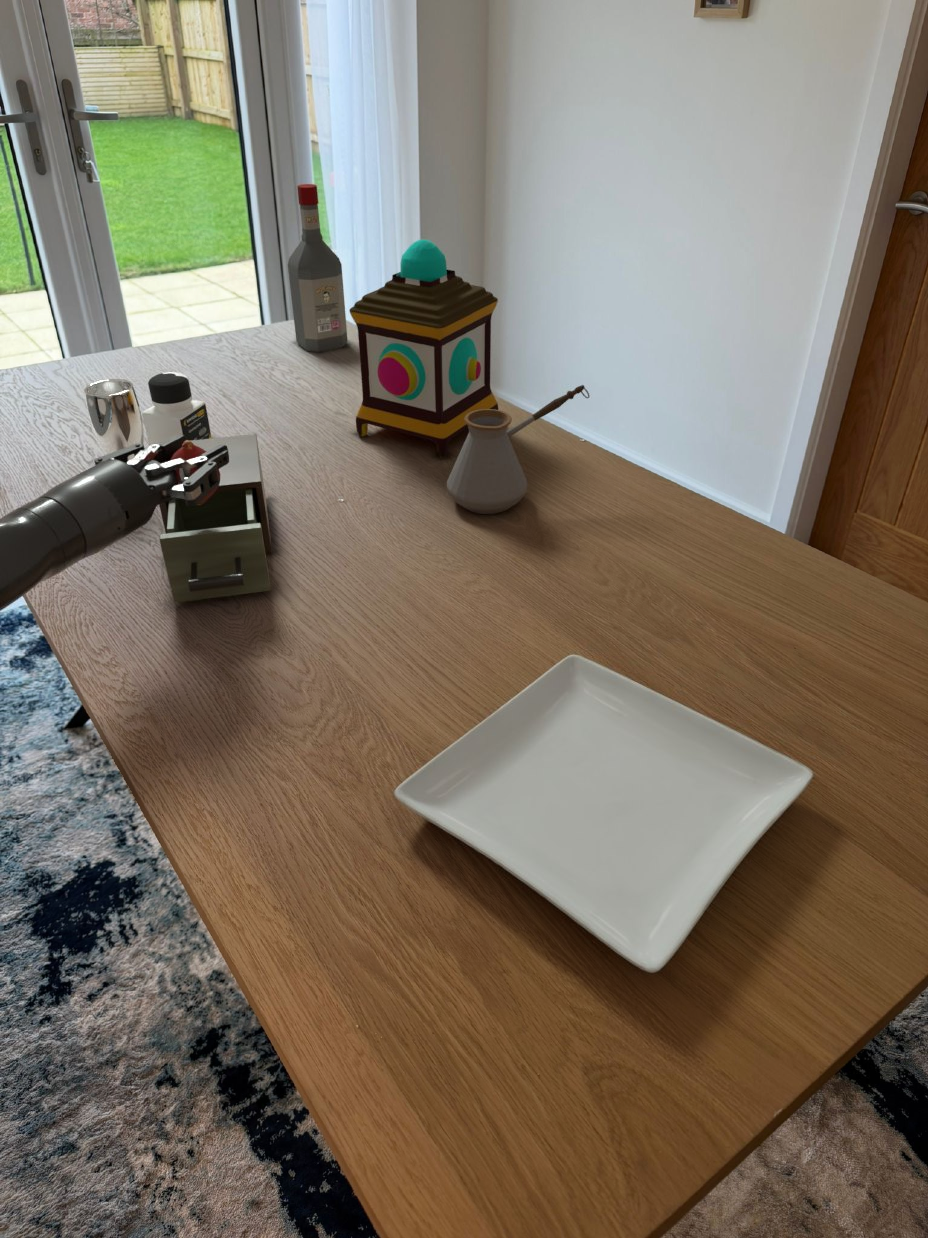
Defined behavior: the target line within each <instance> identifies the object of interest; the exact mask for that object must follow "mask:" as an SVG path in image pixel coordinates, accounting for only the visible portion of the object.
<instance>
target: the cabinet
mask: <svg viewBox="0 0 928 1238" xmlns="http://www.w3.org/2000/svg"><path fill="white" fill-rule="evenodd" d="M191 442H192V443H193V444H194V445H195V446H198V447H200V448H202V449H204V450H205V451H206V452H207V451H209V450H210V449H212V448H214V447H216V446H218V445H219V444H222V445H226V446H227V448H228V454H229V463H228V464H227V465H224V466H223V467H221V468H220V469H219V472H220V484H219V486H218V488H217V490H216V491H215V492H218V491H227V490H237V489H246V488H253V495H254V501H255V507H256V514H257V520H258V523H261V528H262V534H263V541H264V547H265V554H272V553H273V549H272V540H271V539H272V538H271V529H270V523H269V522H270V519H269V512H268V503H267V502H268V501H267V495H266V489H265V488H266V487H265V482H264V476H263V470H262V463H261V462H262V461H261V457H260V455H261V454H260V449H259V442H258V436H257V434H256V433H255V434H243V435H234V436H223V437H214V438H213V437H212V439H202V440H191ZM162 444H163V443H162ZM158 506H159V510H160V514H161V519H162V523H163V527H164V532H165V534H167V533H168V532H167V521H168V508H169V501H168V502H165V503H161V504H159V505H158Z"/></svg>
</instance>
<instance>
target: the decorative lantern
mask: <svg viewBox="0 0 928 1238" xmlns="http://www.w3.org/2000/svg"><path fill="white" fill-rule="evenodd" d="M391 277H392V278H391V280H388V281H386V282H385V283H384V286H382V287H379V288H378V289H376V290H373V291H370V292H369V293H366V294H364V295H363V296H362V297H361V299H359V300H357V301H356V302H355V303H354V305H353V306H352V307H350V308H349V314H350V316H351V318H352V320H353V321H354V323H355V325H356V328H357V335H358V336H357V337H358V338H357V339H358V347H359V348H358V350H359V363H360V364H359V365H360V376H361V377H360V378H361V391H362V401H361V404H360V406H359V409H358V411H357V414H356V416H355V427H356V432H357V434H358V436H360V437H365V436H367V435H368V428H369V427H368V426H374V427H378V428H383V429H385V430H389V431H394V432H398V433H402V434H405V435H408V436H412V437H417V438H420V439H424V440H428V441H431V442H433V443H434V444H435V445H436V448H437V454H438V457H439V458H441V459H444V458H446V457H447V454H448V449H449V443H450V441H451V440H452V439H453V438H454V437H456V436H457V435H459V434H461V433H462V432H463V431H465V430H466V429H469V428H468V425H467V424H466V423H465V421H464V418H465V416H466V415H467V414H468V413H470V412H472V411H475V410H481V409H495V410H499V404H498V401H497V399H496V397H495V395H494V393H493V392H492V389H491V388H492V387H491V356H492V355H491V353H492V352H491V349H492V348H491V346H492V345H491V343H492V338H491V337H492V316H493V313H494V311H495V309H496V307H497V305H498V303H499V299H498V297H496V296H494V294H493V293H492V292H491V291H487V290H486V288H485V287H483V286H480V285H475V284H470V282H468V281H464V279H463V278H462V277H461V276H458V275H456V270H451V269H447V260H446V255H445V254H444V253H443V251H442V250H441V249H440V248H439V247H438V245H437V244H435V243H434V242H433V241H430V240H429V239H422V238H421V239H418V240H416V241H414V242H413V243H412V244H410V245H409V246H408V248H407V249H406V250H405V251H404V252H403V254H402V255H401V258H400V271H399V272H396V273H394V274H392V276H391Z"/></svg>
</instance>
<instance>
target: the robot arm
mask: <svg viewBox="0 0 928 1238" xmlns="http://www.w3.org/2000/svg"><path fill="white" fill-rule="evenodd" d="M186 440H187V437H186V436H184V435H178V436H176V437H174V438H172V439H170V440H168V441H166V442H164V443H163V444H161V445H158V444H153V445H150V446H149V445H148V447H145V444H144V445H143V444H141V443H138V444H134V445H131V446H129V447H126V448H123V449H121V450H118V451H115V452H113V453H110V454H107V455H102V456H100V457H96V458H95V459H94V465H93V466H92V467H90V468H88V469H85V470H84V471H82V472H80V473H77V474H76V475H74V476H72V477H70V478H68V479H66V480H64V481H62V482H60V483H58V484H57V485H55V486H52V487H51V488H50V489H49V490H47V491H46V492H45V493H43V494H42V495H40V496H39V497H37V498H34V499H33V500H31V501H29V502H27V503H25V504H23V505H21V506H19V507H17V508H16V509H13V510H12V511H10V512H9V513H7V514H5V515H4V516H2V517H1V518H0V612H1V611H3V610H4V609H6V608H7V607H9V606H10V605H12V604H13V603H15V602H17V601H18V600H19V599H20V598H22V597H24V595H26V594H27V593H29V592H30V591H31V590H32V589H34V588H35V587H36V586H37V585H39V584H40V583H43V582H45V581H47V580H49V579H51V578H53V577H55V576H58V575H59V574H60V573H62V572H64V571H65V570H67V569H68V568H70V567H72V566H73V565H75V564H77V563H79V562H80V561H82V560H84V559H86V558H89V557H91V556H93V555H96V554H98V553H100V552H102V551H103V550H105V549H107V548H108V547H110V546H112V545H114V544H115V543H117V542H118V541H120V540H121V539H123V538H125V537H127V536H128V535H130V534H131V533H133V532H135V531H136V530H138V529H140V528H141V527H143V526H146V524H148V522H150V520H151V519H152V517H153V515H154V512H155V511H156V508H157V507H158V506H159V504H161V503H165V502H168V501H171V500H172V499H174V497H175V498H182V499H185V500H186V505H187V506H196V505H197V504H198V503H200V502H201V501H202V500H203V499H204V498H205V497H206V496H207V495H208V494H209V493H211V492H212V491H213V490H214V489H215V488H216V487H217V486H218V485H219V484H220V482H219V478H218V473H217V470H218V469H220V468H221V467H223V466H224V465H227V464H228V463H229V454H228V448H227V446H226V445H222V444H219V445H218V446H216V447H214V448H212V449H210V450H209V451H207V452H205V453H203V454H202V455H200V457H196V458H193V459H190V460H186V461H185V460H184V459H182V458H178V459H175V460H172V461H170V460H171V458H172V456H173V454H174V453H175V452H177V451H178V450H179V449H180V448H182V444H183V443H184V442H185V441H186ZM132 454H134V456H135V457H134V458H133V459H130V460H129V461H128V456H130V455H132ZM194 467H197V469H198V470H197V471H196V472H195V473H193V474H192V475H191V473H190V469H191V468H194ZM177 468H179V472H180V477H181V482H180V483H179V484H178V477H177V472H176V470H175V469H177Z"/></svg>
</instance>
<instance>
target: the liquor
mask: <svg viewBox="0 0 928 1238" xmlns="http://www.w3.org/2000/svg"><path fill="white" fill-rule="evenodd" d="M296 186H297V187H296V188H297V199H298V204H299V211H300V219H301V220H300V221H301V236H300V237H301V241H300V242H299V243H298V245H297V246H296V248H295V249H294V250H293V252H292V254H291V255H290V257H289V258H288V262H287V270H288V279H289V288H290V297H291V305H292V315H293V322H294V323H293V324H294V332H295V341H296V343H297V344H298V345H299V346H300V347H301V348H302V349H304V350H305V351H307V352H314V353H321V352H322V353H323V352H327V351H333V350H337V349H338V350H339V349H342V348H343V347H345V346H346V345H347V343H348V329H347V328H348V327H347V316H346V302H345V293H344V291H345V290H344V279H343V277H344V276H343V266H342V265H343V264H342V262H341V260H340V258H339V256H338V255H337V254H336V253H335V252H334V251H333V250H332V249H331V248H330V247H329V245H328V244H327V243H326V242H325V241H324V240H323V239H324V237H323V235H322V232H321V223H320V213H319V206H318V204H319V194H318V185H317V184H314V183H304V184H302V183H301V184H298V185H296Z"/></svg>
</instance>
